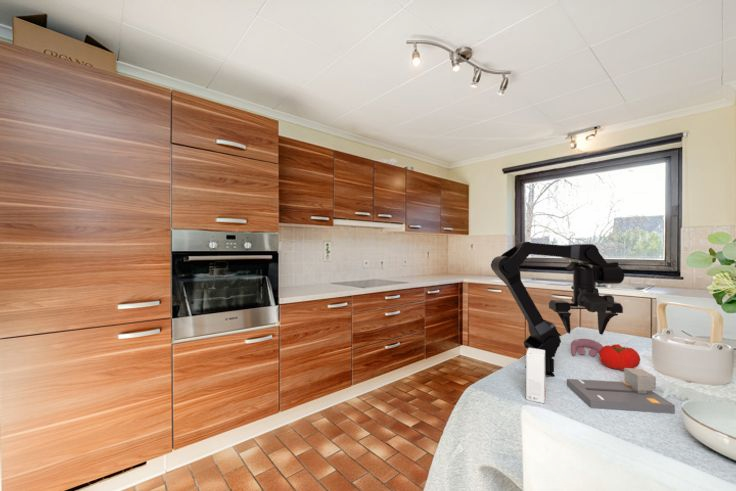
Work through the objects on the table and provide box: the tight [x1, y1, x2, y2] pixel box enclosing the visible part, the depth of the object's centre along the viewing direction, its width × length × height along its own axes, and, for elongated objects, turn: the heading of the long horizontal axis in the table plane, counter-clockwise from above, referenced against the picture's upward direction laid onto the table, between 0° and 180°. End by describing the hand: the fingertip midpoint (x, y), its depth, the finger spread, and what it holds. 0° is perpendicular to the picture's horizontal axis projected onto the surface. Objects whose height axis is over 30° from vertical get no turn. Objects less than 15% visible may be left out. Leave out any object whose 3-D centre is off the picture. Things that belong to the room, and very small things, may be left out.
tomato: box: [598, 343, 641, 371], centre depth 100 cm, size 10×11×6 cm
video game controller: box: [570, 338, 604, 357], centre depth 111 cm, size 10×5×7 cm, turn 59°
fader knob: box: [623, 368, 657, 394], centre depth 79 cm, size 4×5×5 cm
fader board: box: [566, 378, 676, 415], centre depth 80 cm, size 18×12×2 cm, turn 81°
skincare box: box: [525, 348, 546, 404], centre depth 81 cm, size 6×4×12 cm
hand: (584, 333), depth 97 cm, fingers open, 9 cm apart
